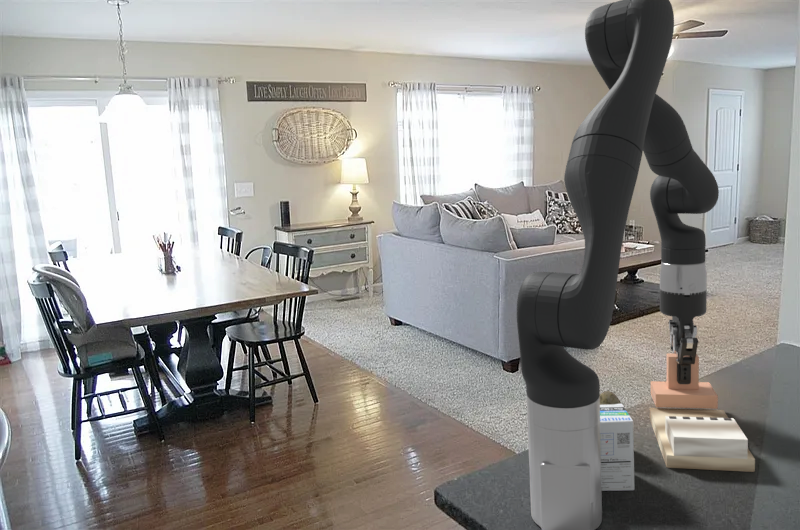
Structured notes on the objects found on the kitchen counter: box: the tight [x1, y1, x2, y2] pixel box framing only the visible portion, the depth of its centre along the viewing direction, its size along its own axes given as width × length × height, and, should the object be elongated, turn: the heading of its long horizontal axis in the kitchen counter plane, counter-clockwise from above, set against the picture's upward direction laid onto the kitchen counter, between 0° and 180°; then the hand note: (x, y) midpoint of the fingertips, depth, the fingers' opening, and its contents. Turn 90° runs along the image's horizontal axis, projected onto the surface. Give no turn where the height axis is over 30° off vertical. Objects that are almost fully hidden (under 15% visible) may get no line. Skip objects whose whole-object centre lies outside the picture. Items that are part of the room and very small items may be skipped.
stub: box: [650, 352, 719, 410], centre depth 111 cm, size 6×10×8 cm, turn 76°
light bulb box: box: [600, 403, 635, 492], centre depth 91 cm, size 11×7×11 cm, turn 84°
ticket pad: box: [649, 407, 756, 473], centre depth 101 cm, size 18×12×5 cm, turn 166°
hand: (682, 380), depth 112 cm, fingers closed on stub, 2 cm apart
